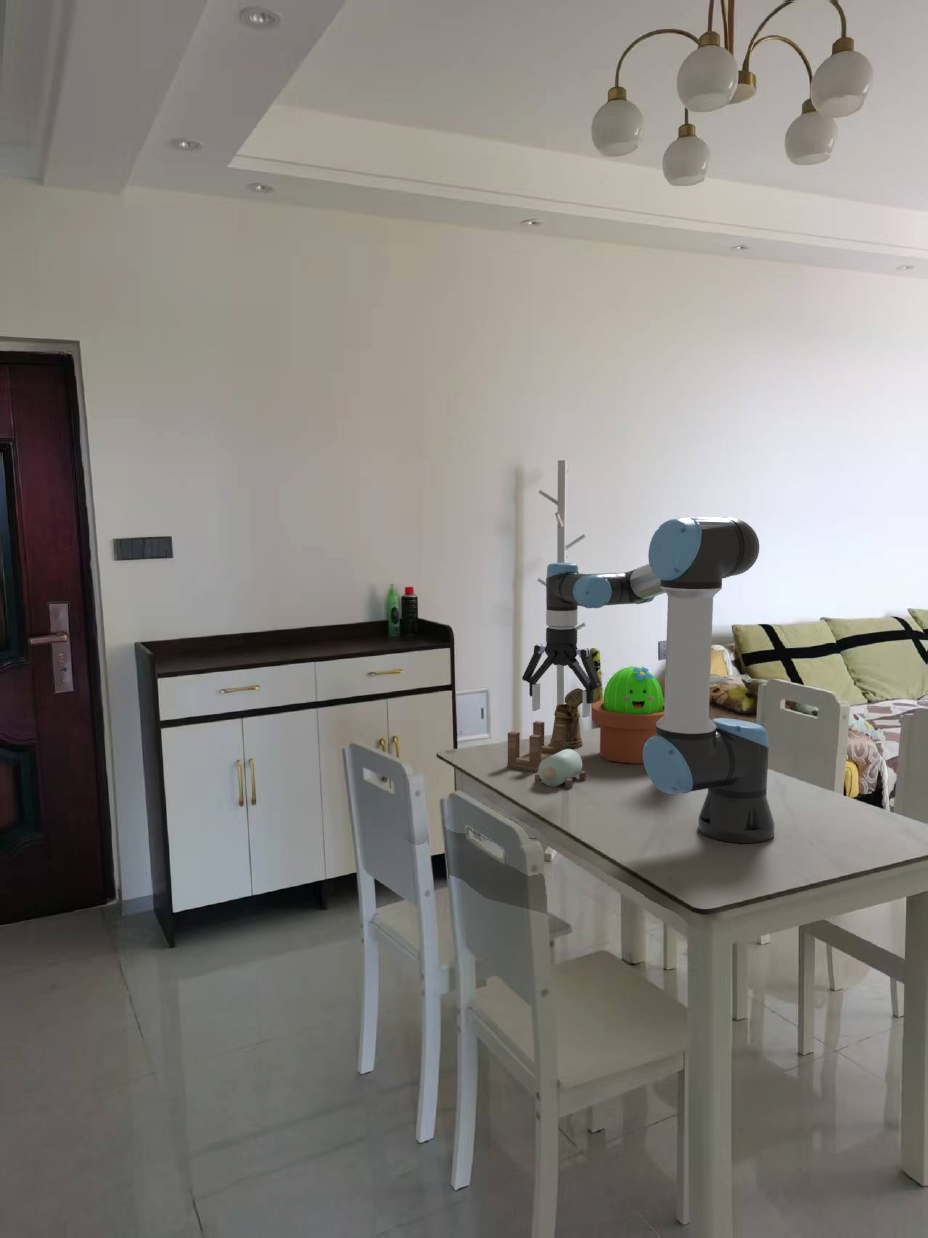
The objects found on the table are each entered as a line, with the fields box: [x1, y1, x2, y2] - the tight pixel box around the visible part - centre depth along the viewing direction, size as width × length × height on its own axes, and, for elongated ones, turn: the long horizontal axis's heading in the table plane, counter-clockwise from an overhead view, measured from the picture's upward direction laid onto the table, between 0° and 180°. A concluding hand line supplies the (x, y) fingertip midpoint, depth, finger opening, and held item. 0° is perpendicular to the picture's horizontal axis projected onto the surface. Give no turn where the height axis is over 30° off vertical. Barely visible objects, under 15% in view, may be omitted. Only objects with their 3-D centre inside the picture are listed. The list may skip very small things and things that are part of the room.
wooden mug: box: [549, 687, 584, 749], centre depth 261 cm, size 9×14×18 cm, turn 14°
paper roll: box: [537, 748, 583, 787], centre depth 229 cm, size 14×7×7 cm, turn 147°
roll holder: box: [506, 720, 566, 773], centre depth 246 cm, size 16×9×9 cm, turn 147°
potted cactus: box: [591, 665, 665, 765], centre depth 250 cm, size 22×22×25 cm
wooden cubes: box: [534, 770, 587, 790], centre depth 229 cm, size 9×10×2 cm
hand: (560, 713), depth 227 cm, fingers open, 13 cm apart
